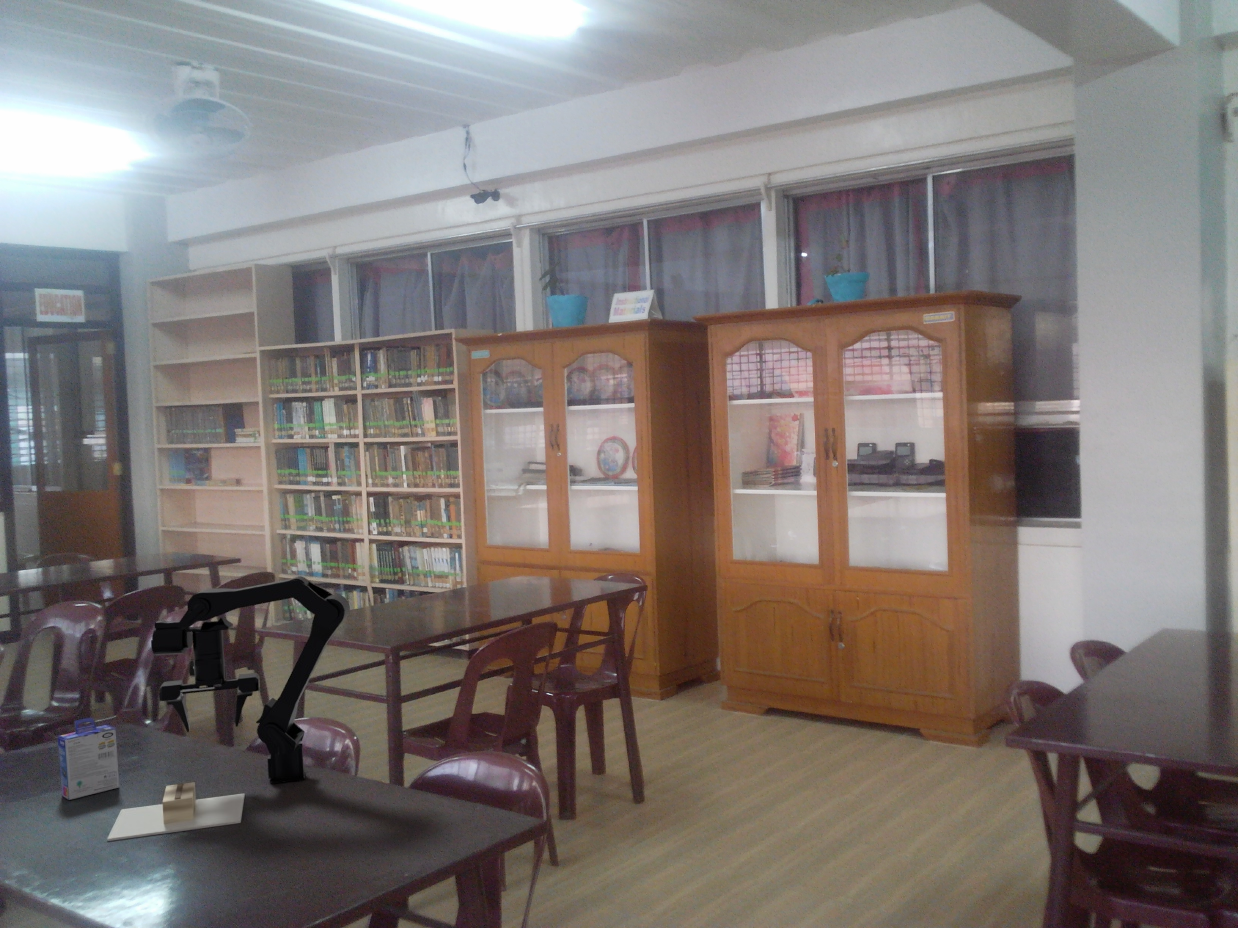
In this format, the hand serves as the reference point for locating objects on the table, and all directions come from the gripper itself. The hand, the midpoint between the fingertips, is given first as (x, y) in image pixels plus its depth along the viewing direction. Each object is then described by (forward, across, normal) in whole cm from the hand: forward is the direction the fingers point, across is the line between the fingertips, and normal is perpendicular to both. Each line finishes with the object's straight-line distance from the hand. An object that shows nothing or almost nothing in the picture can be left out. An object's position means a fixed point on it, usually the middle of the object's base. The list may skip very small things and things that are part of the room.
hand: (212, 728), depth 218 cm
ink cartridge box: (+11, +24, -5) cm, 27 cm away
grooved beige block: (+11, +5, +18) cm, 21 cm away
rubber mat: (+11, +5, +19) cm, 22 cm away
